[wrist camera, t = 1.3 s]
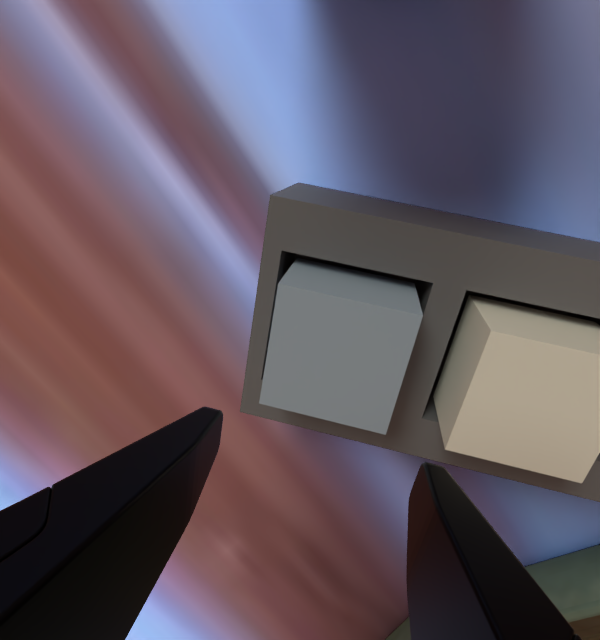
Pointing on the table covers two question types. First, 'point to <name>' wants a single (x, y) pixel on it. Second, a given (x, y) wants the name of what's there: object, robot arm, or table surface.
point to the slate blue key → (340, 344)
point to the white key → (522, 389)
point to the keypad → (421, 299)
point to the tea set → (562, 591)
